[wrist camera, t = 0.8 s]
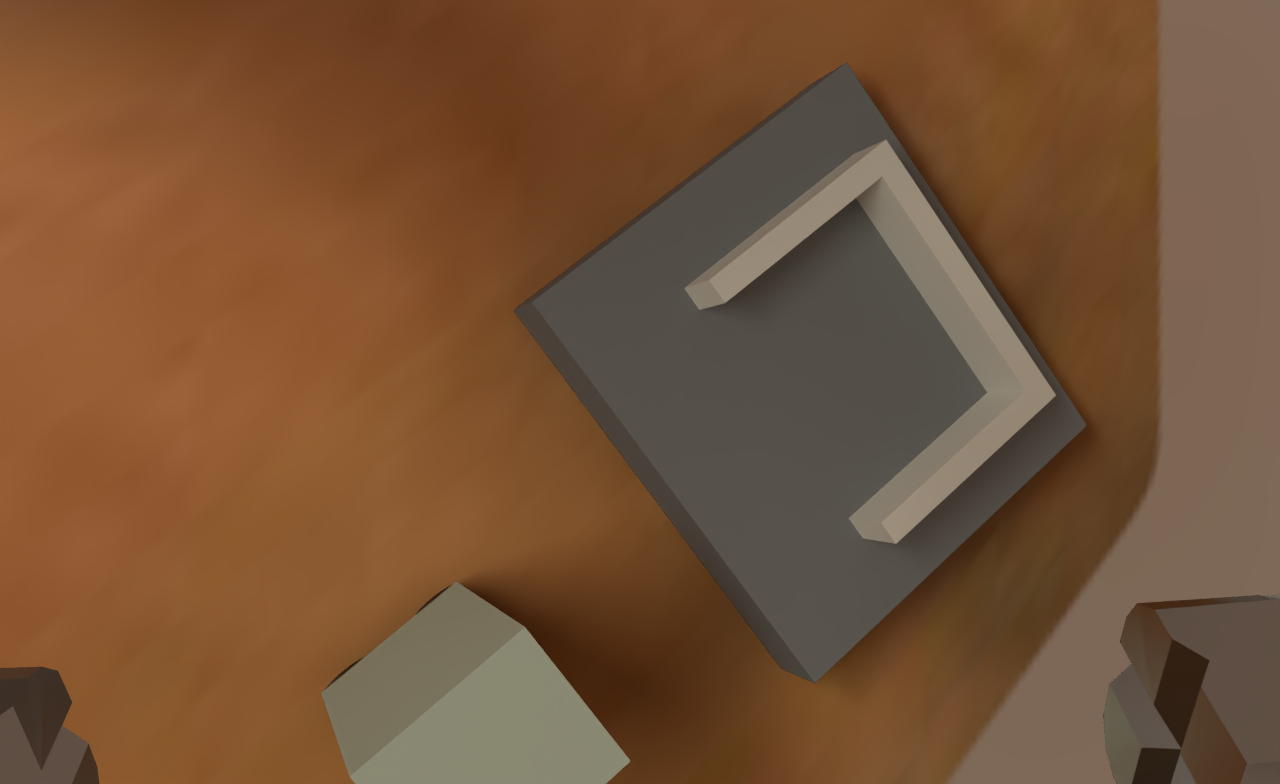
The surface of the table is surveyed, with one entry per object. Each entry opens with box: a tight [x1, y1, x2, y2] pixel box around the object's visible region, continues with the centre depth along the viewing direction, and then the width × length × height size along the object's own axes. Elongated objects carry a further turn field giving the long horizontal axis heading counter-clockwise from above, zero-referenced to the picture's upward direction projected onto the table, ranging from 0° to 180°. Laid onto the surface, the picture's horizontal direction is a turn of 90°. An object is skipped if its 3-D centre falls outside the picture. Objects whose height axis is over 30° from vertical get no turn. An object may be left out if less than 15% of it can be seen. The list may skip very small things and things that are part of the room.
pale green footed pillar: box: [321, 582, 630, 784], centre depth 39 cm, size 5×6×12 cm
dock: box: [514, 63, 1087, 683], centre depth 47 cm, size 18×16×6 cm
